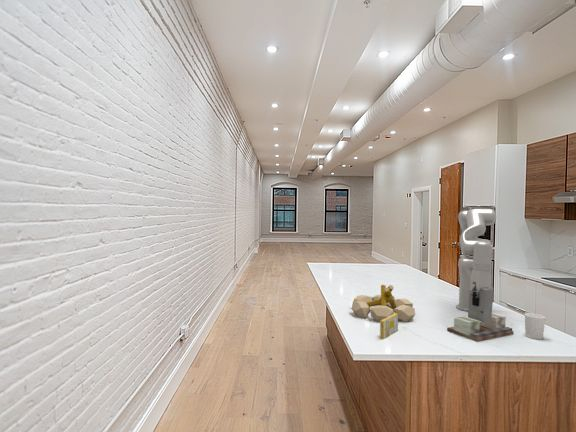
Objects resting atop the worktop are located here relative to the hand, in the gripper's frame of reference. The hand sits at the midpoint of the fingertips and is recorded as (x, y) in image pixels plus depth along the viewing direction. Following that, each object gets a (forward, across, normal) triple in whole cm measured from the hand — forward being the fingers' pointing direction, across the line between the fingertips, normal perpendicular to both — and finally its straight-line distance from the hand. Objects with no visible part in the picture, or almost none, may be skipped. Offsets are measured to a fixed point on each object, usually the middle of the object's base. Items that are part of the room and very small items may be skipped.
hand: (480, 304), depth 172 cm
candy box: (+14, +43, -15) cm, 48 cm away
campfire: (+14, +23, -43) cm, 51 cm away
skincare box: (+7, 0, 0) cm, 7 cm away
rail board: (+14, 0, 0) cm, 14 cm away
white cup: (+14, -19, +14) cm, 27 cm away
